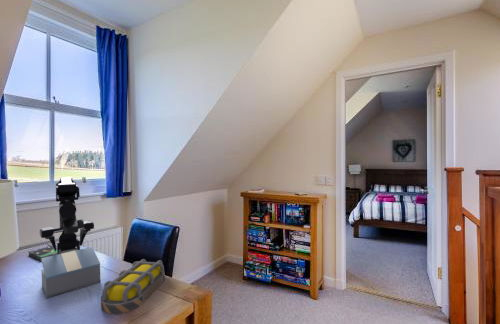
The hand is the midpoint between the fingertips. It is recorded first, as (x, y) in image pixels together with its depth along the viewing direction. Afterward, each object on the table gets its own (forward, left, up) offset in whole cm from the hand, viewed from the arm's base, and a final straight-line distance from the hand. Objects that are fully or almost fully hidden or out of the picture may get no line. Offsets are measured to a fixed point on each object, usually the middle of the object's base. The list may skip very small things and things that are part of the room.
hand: (68, 248), depth 114 cm
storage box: (+8, -1, -13) cm, 15 cm away
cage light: (+31, +16, -13) cm, 38 cm away
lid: (+8, -1, -4) cm, 9 cm away
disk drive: (-38, -4, -14) cm, 41 cm away
